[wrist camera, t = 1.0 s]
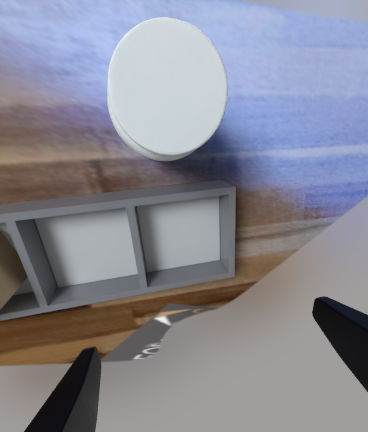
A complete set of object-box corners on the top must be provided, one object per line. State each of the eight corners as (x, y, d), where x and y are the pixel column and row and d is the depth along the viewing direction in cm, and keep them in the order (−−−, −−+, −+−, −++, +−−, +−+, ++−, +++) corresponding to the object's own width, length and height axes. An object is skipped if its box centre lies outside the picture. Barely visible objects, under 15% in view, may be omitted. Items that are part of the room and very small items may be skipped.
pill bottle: (198, 140, 15) (254, 138, 8) (139, 164, 15) (136, 188, 7) (174, 68, 14) (216, -28, 6) (107, 95, 13) (60, 32, 6)
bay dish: (221, 179, 17) (235, 186, 14) (222, 258, 19) (234, 276, 17) (-90, 214, 14) (-144, 231, 11) (-38, 303, 16) (-73, 334, 14)
